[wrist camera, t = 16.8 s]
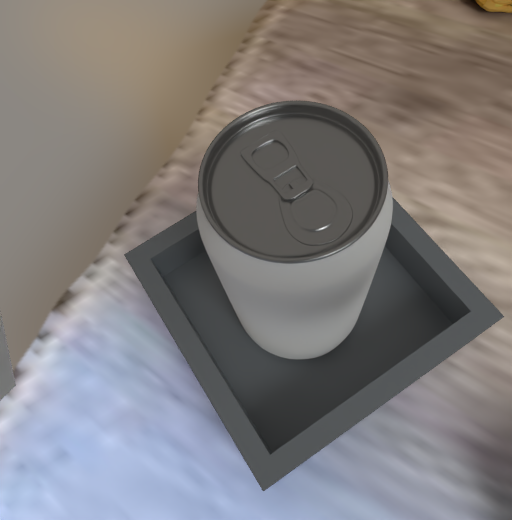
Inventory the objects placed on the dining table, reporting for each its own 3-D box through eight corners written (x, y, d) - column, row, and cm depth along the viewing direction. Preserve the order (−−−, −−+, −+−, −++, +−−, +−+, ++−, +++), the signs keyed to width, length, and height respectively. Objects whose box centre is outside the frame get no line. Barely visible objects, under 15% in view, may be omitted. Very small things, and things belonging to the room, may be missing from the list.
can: (280, 387, 23) (257, 322, 12) (215, 285, 26) (147, 154, 15) (385, 316, 24) (452, 196, 13) (313, 224, 26) (317, 58, 16)
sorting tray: (326, 166, 29) (329, 129, 26) (477, 335, 24) (504, 316, 21) (145, 278, 27) (124, 254, 24) (269, 486, 22) (263, 491, 19)
